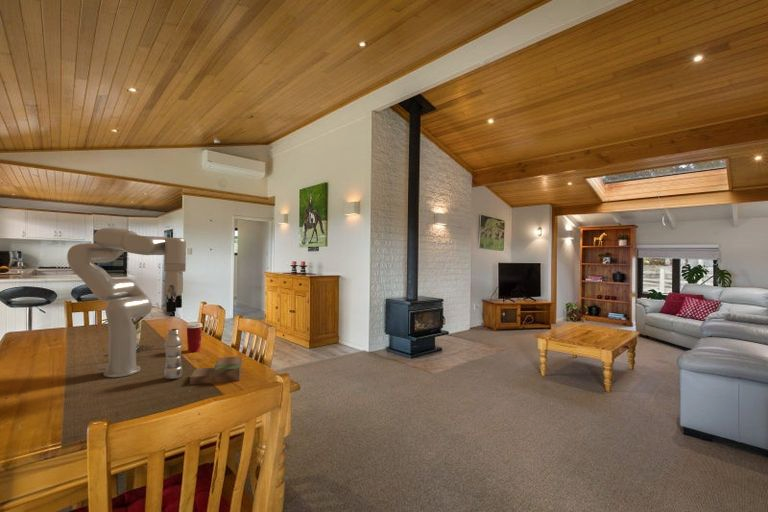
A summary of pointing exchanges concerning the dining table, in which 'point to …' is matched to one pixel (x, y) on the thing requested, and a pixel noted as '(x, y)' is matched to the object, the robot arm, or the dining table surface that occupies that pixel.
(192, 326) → the paper cup
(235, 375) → the step stand
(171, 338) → the plastic bottle
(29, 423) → the dining table surface
